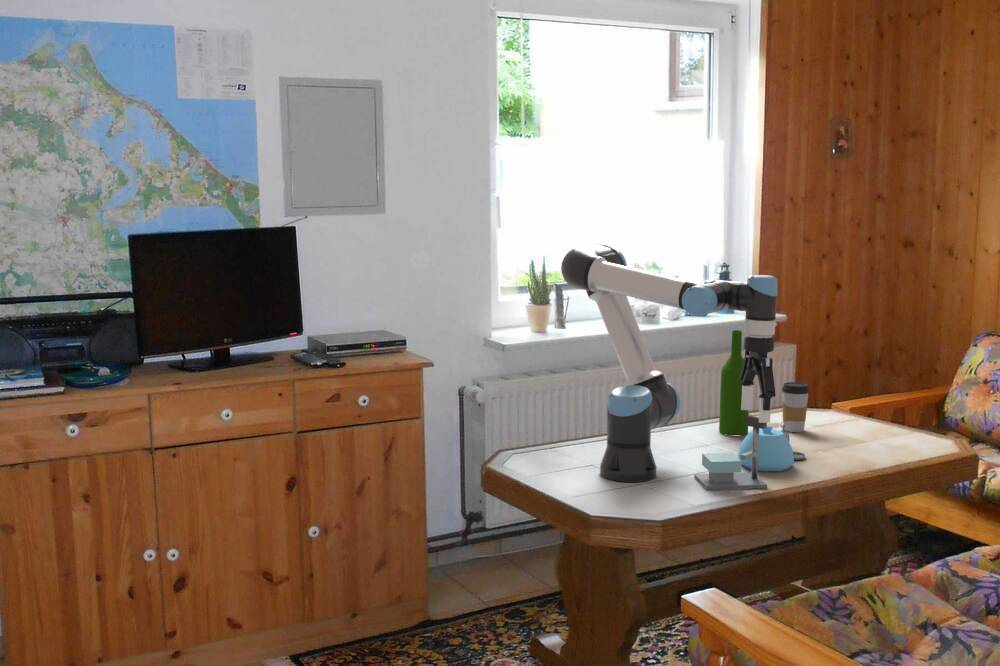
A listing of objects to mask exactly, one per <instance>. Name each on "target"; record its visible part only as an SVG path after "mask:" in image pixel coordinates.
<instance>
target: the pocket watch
mask: <svg viewBox="0 0 1000 666" xmlns="http://www.w3.org/2000/svg"><path fill="white" fill-rule="evenodd" d="M784 423H785V422H784ZM785 425H786V424H785ZM785 425H783V421H781V422H780V427H781V428H782V429H781V430H780V431H781V432H783V433H784V435H785V436H786V438H787V440H788V441H789V442H790V439H791V438H790V434H789V433H790V432H788V431H787V430H784V428H785ZM793 455H794V461H800V460H803V459H805V458H806V454H805V453H803V452H799V451H793Z"/></svg>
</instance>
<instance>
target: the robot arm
mask: <svg viewBox="0 0 1000 666" xmlns="http://www.w3.org/2000/svg"><path fill="white" fill-rule="evenodd" d="M560 270H561V271H560V272H561V275H562V277H563V279H564V281H565V282H566V283H567V284H568V285H569V286H570V287H572V288H575V289H580V290H582V291H583V290H585V291H586V294H587V297H588V299H590V300H592V301H593V302H595V303H596V305H597V307H598V310H599V312H600V315H601V317H602V318H601V319H602V320H603V323H604V325H605V328H606V331H607V333H608V336H609V338H610V341H611V343H612V346H613V348H614V351H615V354H616V356H617V358H618V359H617V360H618V361H619V364H620V366H621V369H622V371H623V374H624V376H625V378H626V379H625V380H626V382H625V384H624V386H623V385H621V386H619V387H616V388H614V389H612V390H611V391H609V393H608V396H607V402H606V403H607V404H606V410H607V412H606V413H607V416H606V417H607V419H606V421H607V423H606V424H607V427H606V428H607V429H606V432H607V433H606V448H605V450H604V454H603V456H602V460H601V463H600V468H599V475H600V476H601V477H603V478H605V479H607V480H611V481H615V482H621V483H622V482H624V483H640V482H641V483H642V482H647V481H652V480H653V479H655V478H656V477H657V471H658V470H657V469H658V467H657V464H656V461H655V458H654V455H653V452H652V448H651V444H652V443H651V440H652V439H651V437H652V436H651V435H652V432H651V431H652V430H654V429H656V428H659V427H662V426H666V425H667V424H668V423H670V422H671V421H673V420H674V419H675V418H676V417H677V415H678V413H679V411H680V409H681V408H680V407H681V397H680V393H679V392H678V390H677V388H676V387H675V386H674V385H673V384H671V383H669V382H667V380H666V378H665V375H664V373H663V372H661V371H659V370H657V369H656V367H655V365H654V362H653V360H652V357H651V354H650V352H649V350H648V347H647V344H646V341H645V339H644V337H643V334H642V332H641V329H640V326H639V324H638V322H637V319H636V316H635V314H634V311H633V309H632V307H631V303H630V302H629V298H628V297H630V298H634V299H639V300H643V301H647V302H650V303H651V302H652V303H655V304H659V305H663V306H664V305H665V306H668V307H673V308H676V309H679V310H680V309H681V310H684V311H686V312H687V313H688V314H689V315H692V316H695V317H698V316H700V317H703V316H707V315H709V314H713V313H717V312H722V311H725V310H727V311H731V310H732V311H739V312H745V320H744V333H745V334H746V335H745V336H744V339H743V349H744V357H743V359H744V362H743V366H742V370H741V374H740V378H739V380H740V381H742V382H741V383H742V385H743V386H742V401H741V410H749V411H752V410H753V397H754V396H753V394H754V385H755V382H754V380H755V377H756V376H757V379H758V385H759V389H760V394H759V396H758V398H759V408H758V409H759V410H758V412H759V413H758V417H759V423H767V424H769V423H771V411H772V398H775V397H776V388H775V378H774V370H773V369H774V368H773V362H774V361H773V358H772V357H771V358H768V353H771V352H773V351H774V349H775V341H776V340H775V337H774V335H775V332H776V327H777V325H778V323H777V322H776V319H777V318H776V317H777V316H776V315H777V302H778V279H777V278H776V277H775V276H773V275H768V274H766V275H765V274H750V275H748V277H747V281H734V280H733V281H732V280H722V279H707V280H705V281H704V283H703V282H702V283H701V282H698V281H691V280H687V279H683V278H679V277H674V276H671V275H665V274H661V273H656V272H652V271H647V270H644V269H639V268H634V267H630V266H627V261H626V258H625V256H624V254H623V253H622V252H621V251H620V250H619V249H618V248H617V247H614V246H613V245H610V244H609V245H608V244H607V245H606V244H596V245H590V246H589V245H588V246H587V245H586V246H579V247H575V248H572V249H570V250H569V251H568V252H567V253H566V254H565V256H564V257H563V259H562V262H561V267H560ZM743 376H744V377H743Z"/></svg>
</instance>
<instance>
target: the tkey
mask: <svg viewBox="0 0 1000 666" xmlns="http://www.w3.org/2000/svg"><path fill="white" fill-rule="evenodd" d="M767 425H768V423H759V416H756V415H752V414H749V416H746V426H748V427H752V430H753V445H752V451H749V452H746V453H743V454H741V455H740V459H742V460H747V459H750V458H752V470H751V472H750V473H751V478H753V479H757V478H758V477H759V476H758V475H759V471H758V453H759V429H760V428H761V429H764V428H767Z"/></svg>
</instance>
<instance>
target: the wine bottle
mask: <svg viewBox="0 0 1000 666" xmlns="http://www.w3.org/2000/svg"><path fill="white" fill-rule="evenodd" d="M742 336H743V331H742V330H738V329H737V330H732V331H731V348H730V350H731V351H730V356H729V357H728V359H727V360H726V362H724V364H723V366H721V370H720V391H719V393H720V395H719V418H718V419H719V424H718V426H719V427H718V432H719V433H720V434H721V433H722V434H721V435H724V434H727V435H726V436H728V435H744V436H747V435H748V433H749V426H746V416H749V415H750V410H741V401H742V386H743V385H742V383H741V382H742V381H740V380H739V378H740V374H741V370H742V366H743V362H744V357H743V355H742V347H743V346H742V343H743V342H742V340H743V338H742ZM743 377H744V376H743ZM746 434H747V435H746Z"/></svg>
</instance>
